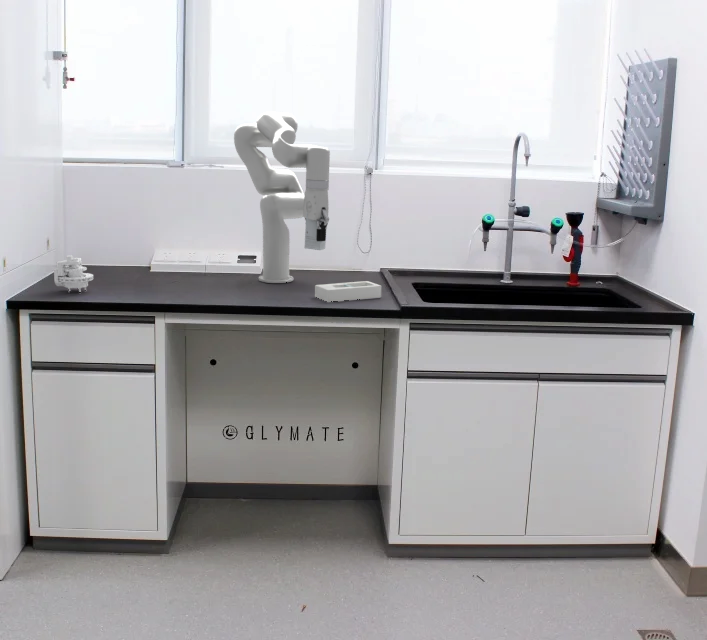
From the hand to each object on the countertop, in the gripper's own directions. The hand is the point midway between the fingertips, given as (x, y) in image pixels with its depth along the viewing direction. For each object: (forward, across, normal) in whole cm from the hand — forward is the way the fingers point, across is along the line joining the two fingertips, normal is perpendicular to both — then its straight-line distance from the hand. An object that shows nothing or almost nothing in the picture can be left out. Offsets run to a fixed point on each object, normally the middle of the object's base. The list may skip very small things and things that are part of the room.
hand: (315, 238), depth 263 cm
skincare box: (+4, 0, 0) cm, 4 cm away
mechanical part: (+20, -31, -72) cm, 81 cm away
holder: (+18, +11, +7) cm, 22 cm away
